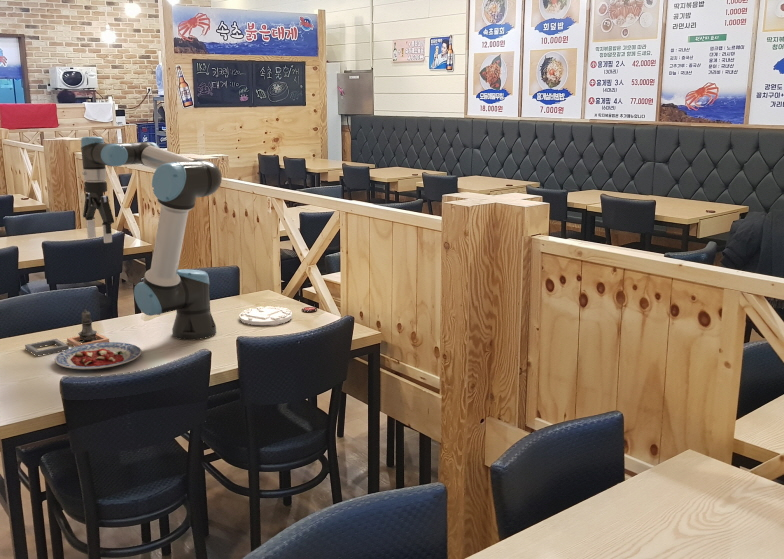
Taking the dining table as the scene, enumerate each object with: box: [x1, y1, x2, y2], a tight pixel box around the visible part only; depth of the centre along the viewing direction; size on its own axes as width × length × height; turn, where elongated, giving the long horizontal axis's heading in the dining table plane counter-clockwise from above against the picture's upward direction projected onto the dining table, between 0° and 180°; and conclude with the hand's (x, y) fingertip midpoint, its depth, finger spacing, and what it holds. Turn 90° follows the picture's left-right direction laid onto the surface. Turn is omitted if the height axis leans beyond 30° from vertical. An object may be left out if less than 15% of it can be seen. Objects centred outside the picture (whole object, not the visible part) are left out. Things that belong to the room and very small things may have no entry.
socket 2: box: [66, 332, 110, 347], centre depth 260 cm, size 10×10×2 cm
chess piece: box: [78, 308, 98, 343], centre depth 259 cm, size 6×6×12 cm
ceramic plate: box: [54, 341, 142, 370], centre depth 243 cm, size 26×26×3 cm
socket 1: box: [24, 338, 70, 357], centre depth 253 cm, size 10×10×2 cm
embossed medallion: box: [238, 305, 293, 326], centre depth 291 cm, size 20×20×3 cm
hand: (99, 240), depth 275 cm, fingers open, 13 cm apart
